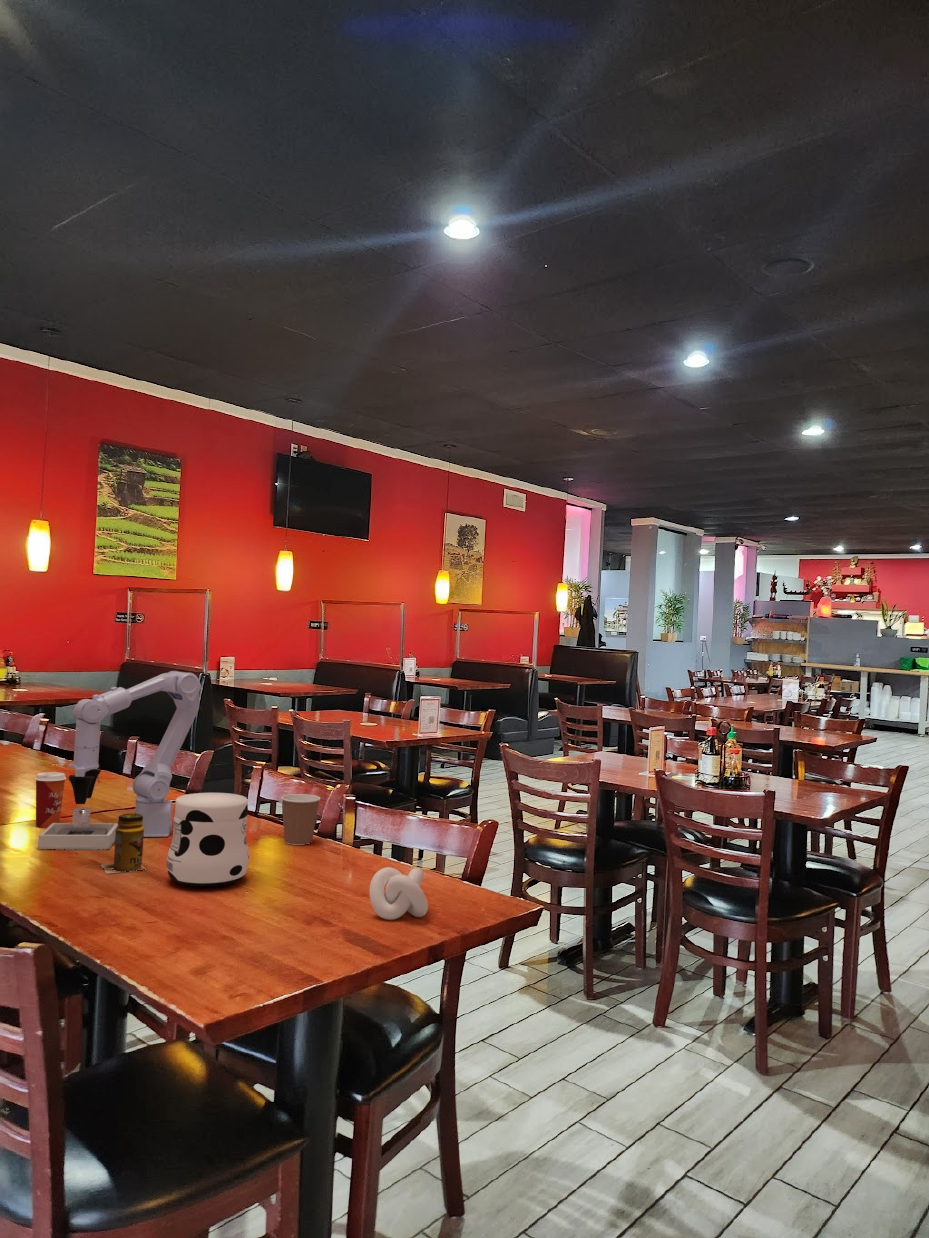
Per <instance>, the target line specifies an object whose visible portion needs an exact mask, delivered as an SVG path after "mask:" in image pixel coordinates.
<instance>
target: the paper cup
mask: <svg viewBox="0 0 929 1238" xmlns="http://www.w3.org/2000/svg"><path fill="white" fill-rule="evenodd" d="M65 780H67V777H66V774H65V773H64V772H58V771H46V772H38V773H37V774H36V777H34V781H35V827H36V828H39V829H42V828H43V829H47V828H48V827H49V826H50V825H51V824H52V823H60V821H61V814H62V804H63V796H64V790H65V789H64V788H65V782H66V781H65Z"/></svg>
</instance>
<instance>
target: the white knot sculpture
mask: <svg viewBox="0 0 929 1238" xmlns="http://www.w3.org/2000/svg"><path fill="white" fill-rule="evenodd" d="M424 875H425V873H424V872H423V870H422V869H421V868H419V867H414V868H413V869H411V870H410V871H409V873H408V874H403V873H402V872H401V871H399V870H398V869H396V868H393V867H391V866H389V867H388V866H386V867H383V868H381V869H379V870H377V871H376V873H375V874H374V875H373V876H372V878H371V880H370V884H369V900H370V903H371V906H372V908H373V910H374V912H375V913H376V915H378V916H379V917H380V918H381V919H384V920H385V921H387V920H388V921H392V920H393V921H394V920H397V919H399V918H401V917H402V916H403V915H404V914H405V913H406V912H408V913H409V914H410V915H411V916H413V917H415V918H423V916H426V914H427V912H428V910H429V905H428V900H427V897H426V894H425V893H424V891H423V889H422V888H421V885H422V882H423V880H424V877H425V876H424Z"/></svg>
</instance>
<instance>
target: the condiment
mask: <svg viewBox="0 0 929 1238" xmlns="http://www.w3.org/2000/svg"><path fill="white" fill-rule="evenodd" d="M117 823H118V827H117V828H116V835H115V842H114V853H113V854H114V855H113V863H112V864H106V863H105V864H100V867H101V869H103V868H104V869H105V868H114V869H112V870H116V871H122V872H115V871H113V872H112V871H111V869H110V870H109V869H108V870H105V871H104V872H105V873H106V874H107V875H108V874H109V875H110V874H118V873H119V874H120V873H127V872H126V871H129V872H128V873H132V872H138V871H137V870H138V869H140V868H144V869H145V870H144V871H146V870H147V869H146V867H144V866H143V865H142V864H143V855H144V854H143V852H144V837H143V836H144V827H143V826H142V824H143V816H142V815H141V814H135V813H123V814H120V815H119V816H118V821H117ZM134 870H136V871H134ZM123 871H124V872H123Z"/></svg>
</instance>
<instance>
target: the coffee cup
mask: <svg viewBox="0 0 929 1238" xmlns="http://www.w3.org/2000/svg"><path fill="white" fill-rule="evenodd" d="M280 799H281V800H282V801H281V802H282V820H283V821H282V823H283V837H284V842H286V843H288V844H292V845H304V844H308V843H310V842H311V843H312V842H313V838H314V833H315V827H316V822H317V821H316V820H317V815H318V809H319V803H320V800H321V797H320V796H318V795H316V794H315V795H314V794H305V793H293V794H292V793H291V794H285V795H282V796H281V797H280ZM286 843H285V844H286ZM288 844H287V845H288ZM292 845H291V846H292Z"/></svg>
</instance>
